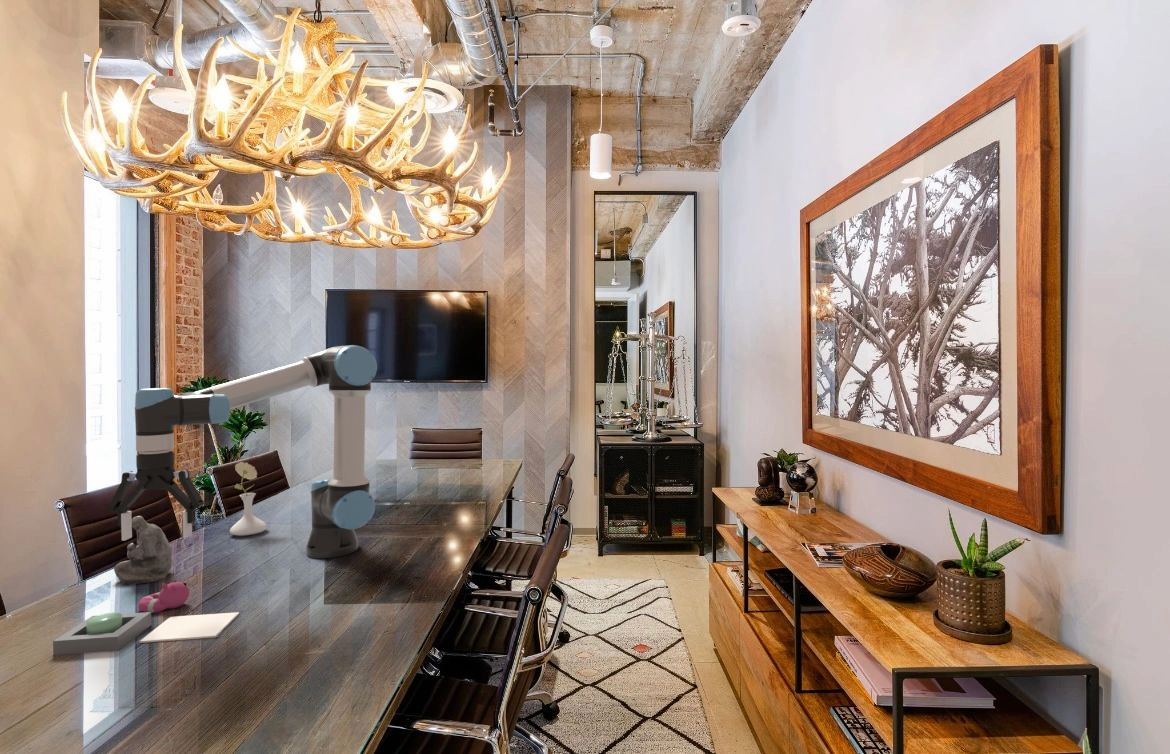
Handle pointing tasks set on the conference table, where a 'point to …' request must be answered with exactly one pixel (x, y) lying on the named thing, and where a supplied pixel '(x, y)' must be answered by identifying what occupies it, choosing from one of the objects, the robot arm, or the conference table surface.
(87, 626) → the button
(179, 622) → the paper sheet
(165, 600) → the toy
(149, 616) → the button housing
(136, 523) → the figurine
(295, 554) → the conference table surface
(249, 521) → the flower in vase
